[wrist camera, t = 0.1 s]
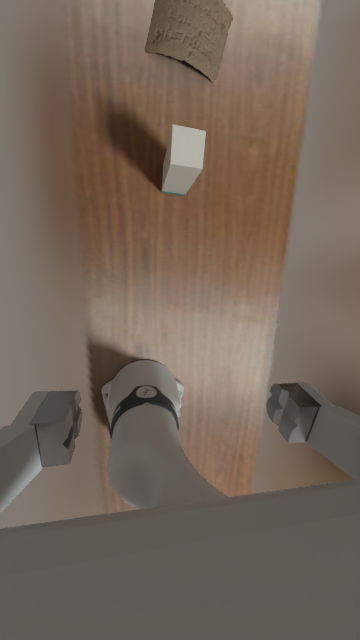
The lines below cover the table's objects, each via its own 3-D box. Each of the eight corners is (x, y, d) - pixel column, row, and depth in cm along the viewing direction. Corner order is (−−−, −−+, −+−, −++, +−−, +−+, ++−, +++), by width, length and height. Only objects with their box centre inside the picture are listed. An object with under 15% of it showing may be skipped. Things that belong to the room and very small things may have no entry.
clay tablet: (236, 24, 38) (243, 7, 36) (220, 92, 40) (226, 80, 38) (151, -22, 35) (152, -45, 32) (139, 55, 37) (139, 39, 35)
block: (184, 195, 43) (202, 169, 31) (161, 192, 42) (170, 163, 30) (186, 169, 42) (205, 131, 30) (162, 165, 41) (172, 124, 29)
